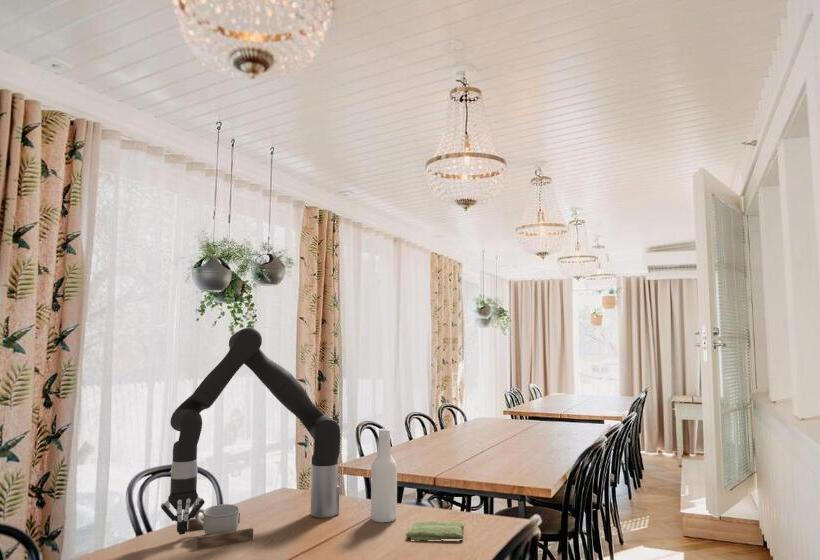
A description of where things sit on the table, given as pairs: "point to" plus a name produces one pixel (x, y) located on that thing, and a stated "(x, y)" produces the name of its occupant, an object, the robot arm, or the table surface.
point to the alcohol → (384, 481)
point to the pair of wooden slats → (220, 535)
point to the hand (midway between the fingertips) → (181, 533)
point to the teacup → (219, 518)
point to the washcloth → (435, 530)
